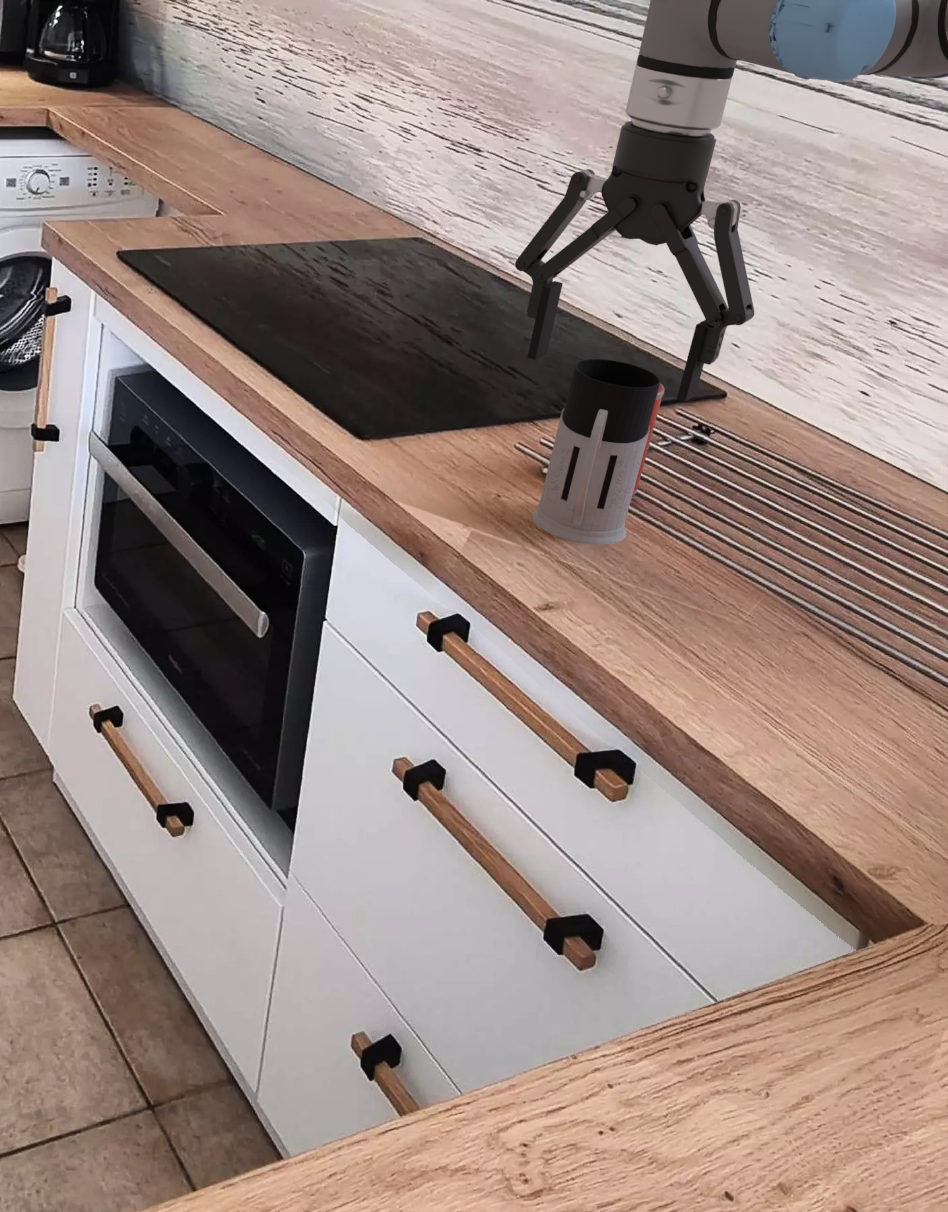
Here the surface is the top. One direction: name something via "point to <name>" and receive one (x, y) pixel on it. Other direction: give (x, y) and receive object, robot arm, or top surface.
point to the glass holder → (597, 452)
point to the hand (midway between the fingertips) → (609, 376)
